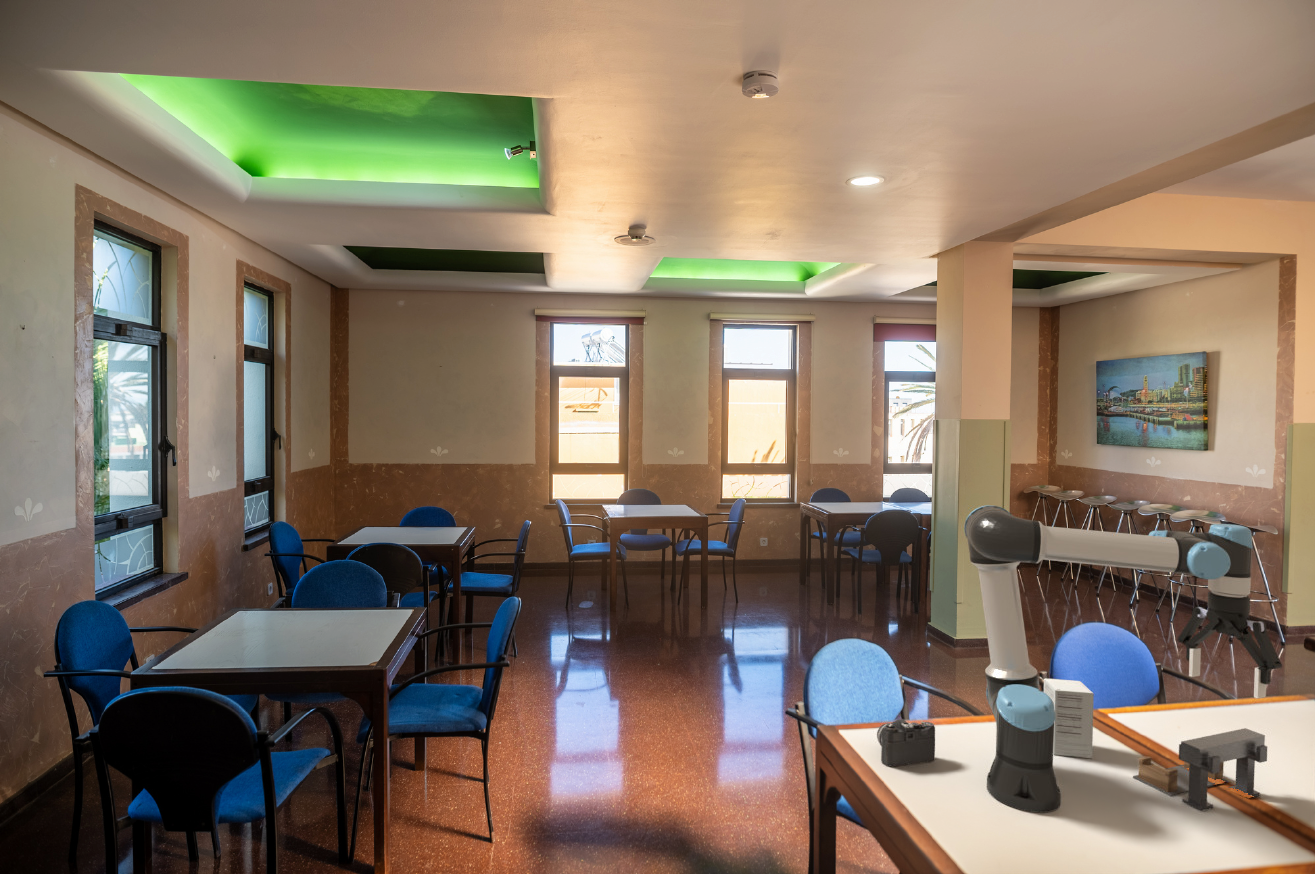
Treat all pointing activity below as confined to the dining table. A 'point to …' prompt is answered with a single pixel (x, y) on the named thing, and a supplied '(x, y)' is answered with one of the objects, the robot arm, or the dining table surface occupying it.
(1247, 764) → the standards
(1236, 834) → the dining table surface
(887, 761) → the camera
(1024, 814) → the dining table surface
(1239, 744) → the rail
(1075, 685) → the supplement box
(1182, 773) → the bench rests
